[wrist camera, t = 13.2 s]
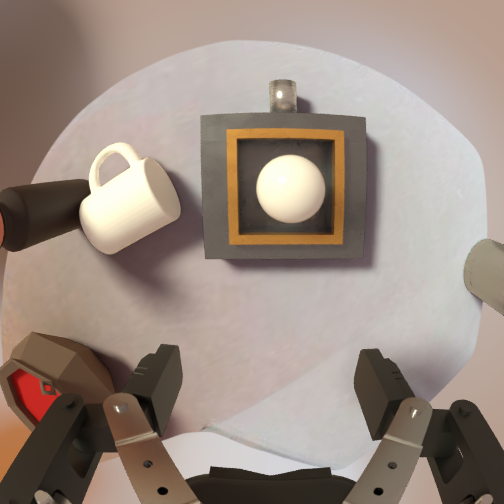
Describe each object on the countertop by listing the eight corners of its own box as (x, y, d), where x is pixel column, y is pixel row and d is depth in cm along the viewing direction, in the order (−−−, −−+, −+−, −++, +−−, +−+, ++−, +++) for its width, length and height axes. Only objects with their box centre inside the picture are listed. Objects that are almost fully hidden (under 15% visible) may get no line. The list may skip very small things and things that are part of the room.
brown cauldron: (46, 286, 41) (-19, 328, 25) (158, 372, 44) (122, 445, 28) (27, 366, 46) (-15, 407, 31) (115, 432, 49) (87, 488, 33)
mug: (187, 213, 37) (167, 224, 29) (127, 246, 38) (98, 263, 31) (148, 132, 34) (121, 123, 27) (91, 170, 36) (57, 171, 28)
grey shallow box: (352, 93, 32) (367, 80, 26) (352, 248, 37) (366, 262, 31) (208, 92, 33) (197, 78, 27) (211, 249, 38) (202, 262, 32)
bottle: (85, 169, 36) (-25, 177, 16) (108, 206, 37) (2, 239, 18) (58, 198, 37) (-46, 223, 18) (80, 234, 38) (-21, 279, 19)
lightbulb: (312, 159, 34) (331, 153, 23) (312, 212, 35) (331, 229, 24) (258, 159, 34) (254, 152, 23) (258, 212, 35) (255, 229, 25)
